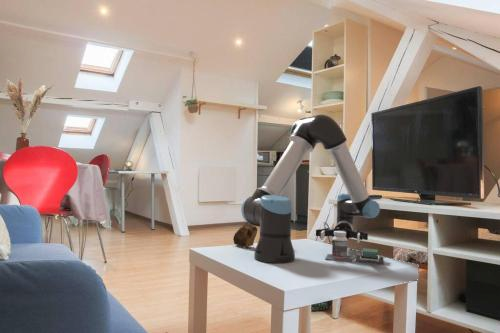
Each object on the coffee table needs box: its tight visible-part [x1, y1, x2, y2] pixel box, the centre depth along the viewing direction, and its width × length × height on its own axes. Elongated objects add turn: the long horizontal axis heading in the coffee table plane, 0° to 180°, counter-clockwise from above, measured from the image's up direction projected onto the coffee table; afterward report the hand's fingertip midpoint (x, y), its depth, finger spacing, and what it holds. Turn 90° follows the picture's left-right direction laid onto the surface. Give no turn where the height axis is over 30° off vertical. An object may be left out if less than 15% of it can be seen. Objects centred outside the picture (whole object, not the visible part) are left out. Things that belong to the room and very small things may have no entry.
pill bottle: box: [331, 231, 348, 259], centre depth 145 cm, size 6×6×10 cm
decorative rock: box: [232, 221, 258, 248], centre depth 164 cm, size 12×6×11 cm, turn 38°
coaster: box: [324, 253, 354, 263], centre depth 145 cm, size 10×10×1 cm
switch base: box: [355, 253, 385, 266], centre depth 140 cm, size 10×4×3 cm, turn 72°
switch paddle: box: [360, 247, 379, 260], centre depth 135 cm, size 6×1×12 cm
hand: (339, 237), depth 143 cm, fingers open, 13 cm apart
